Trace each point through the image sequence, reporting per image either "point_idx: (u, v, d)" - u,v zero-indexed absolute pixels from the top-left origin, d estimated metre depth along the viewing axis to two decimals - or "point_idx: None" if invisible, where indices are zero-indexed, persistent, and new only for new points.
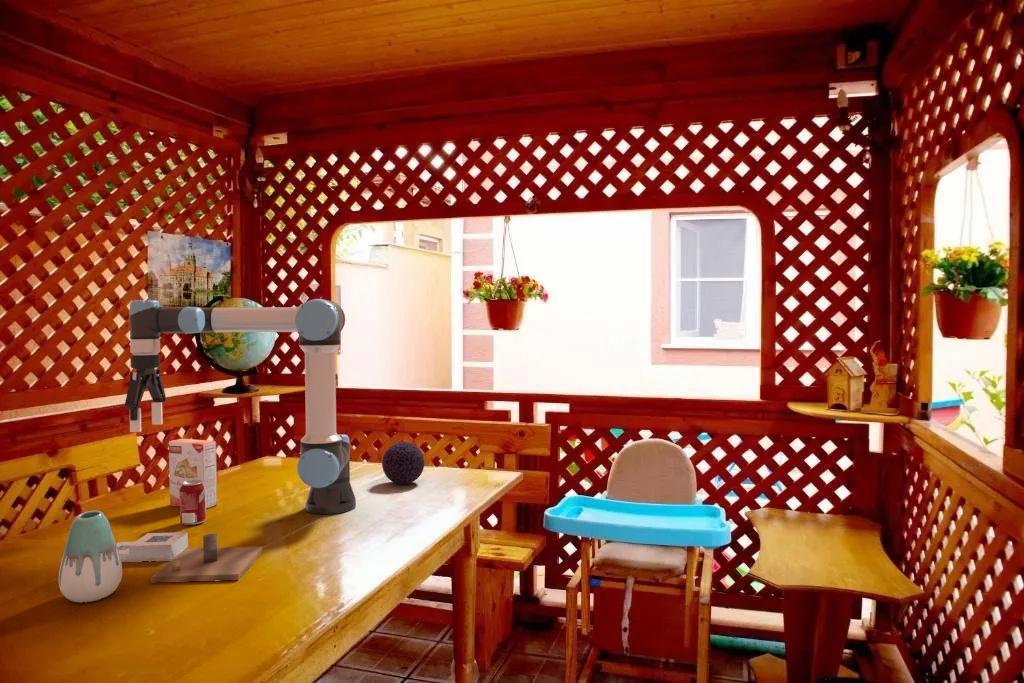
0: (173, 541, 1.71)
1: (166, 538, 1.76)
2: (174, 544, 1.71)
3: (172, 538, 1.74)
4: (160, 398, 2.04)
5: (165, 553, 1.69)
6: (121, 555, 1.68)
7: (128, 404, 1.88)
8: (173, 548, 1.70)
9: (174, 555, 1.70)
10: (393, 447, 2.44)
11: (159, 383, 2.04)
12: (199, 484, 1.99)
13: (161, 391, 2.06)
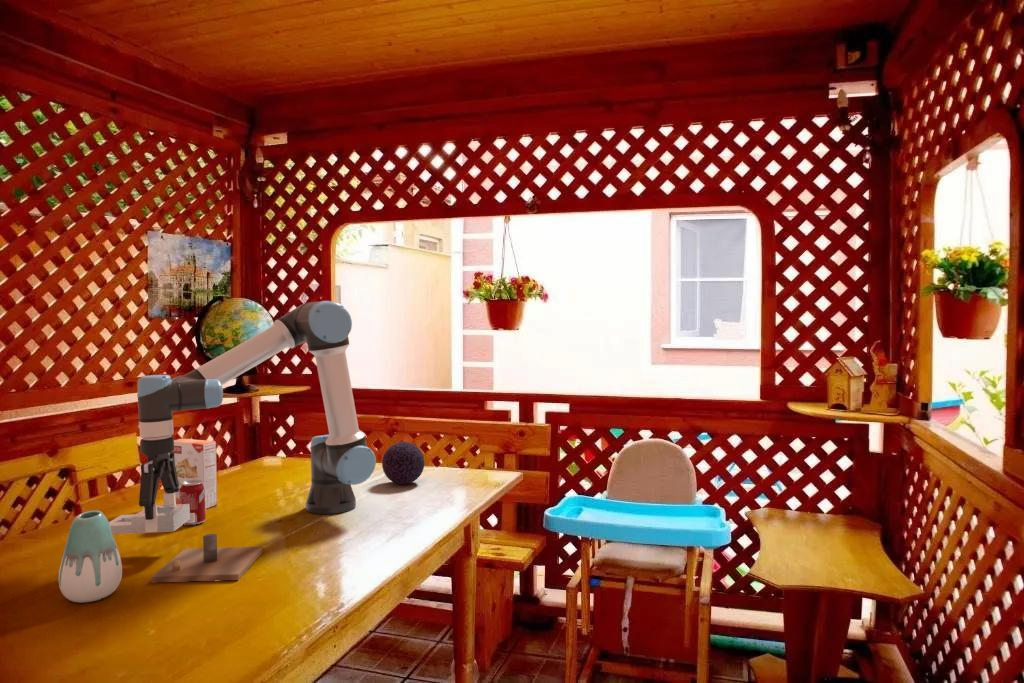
0: (175, 512, 1.71)
1: (168, 510, 1.76)
2: (176, 514, 1.71)
3: (174, 509, 1.74)
4: (173, 488, 1.78)
5: (167, 524, 1.69)
6: (123, 526, 1.68)
7: (143, 502, 1.64)
8: (175, 519, 1.70)
9: (176, 526, 1.70)
10: (393, 447, 2.44)
11: (172, 469, 1.79)
12: (199, 484, 1.99)
13: (174, 478, 1.80)
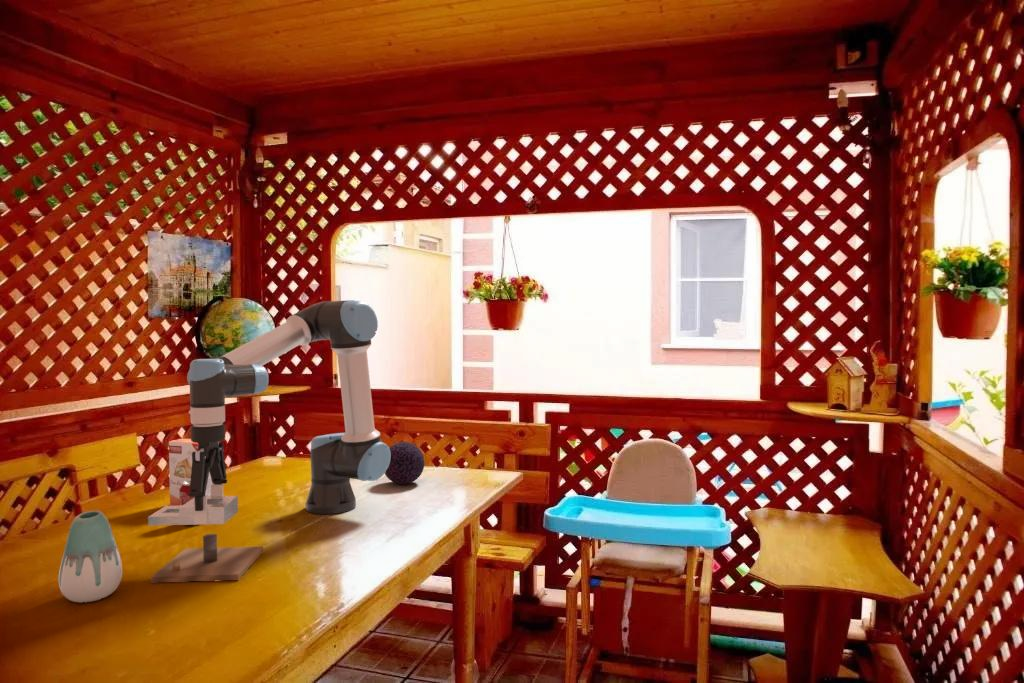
0: (225, 503, 1.62)
1: (216, 501, 1.67)
2: (226, 506, 1.61)
3: (223, 501, 1.64)
4: (221, 479, 1.69)
5: (217, 515, 1.59)
6: (171, 517, 1.59)
7: (193, 492, 1.55)
8: (225, 510, 1.61)
9: (226, 518, 1.61)
10: (393, 447, 2.44)
11: (220, 458, 1.70)
12: None
13: (222, 469, 1.71)
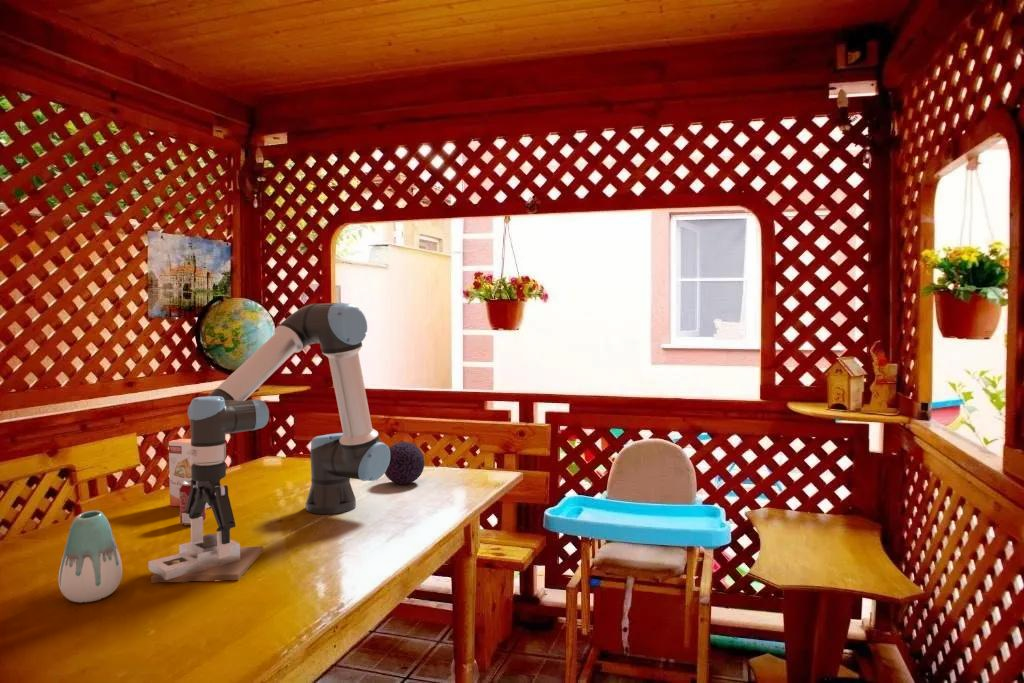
0: (232, 541, 1.66)
1: None
2: None
3: None
4: (202, 512, 1.69)
5: (234, 553, 1.64)
6: (189, 566, 1.56)
7: (229, 525, 1.57)
8: None
9: None
10: (393, 447, 2.44)
11: None
12: None
13: None
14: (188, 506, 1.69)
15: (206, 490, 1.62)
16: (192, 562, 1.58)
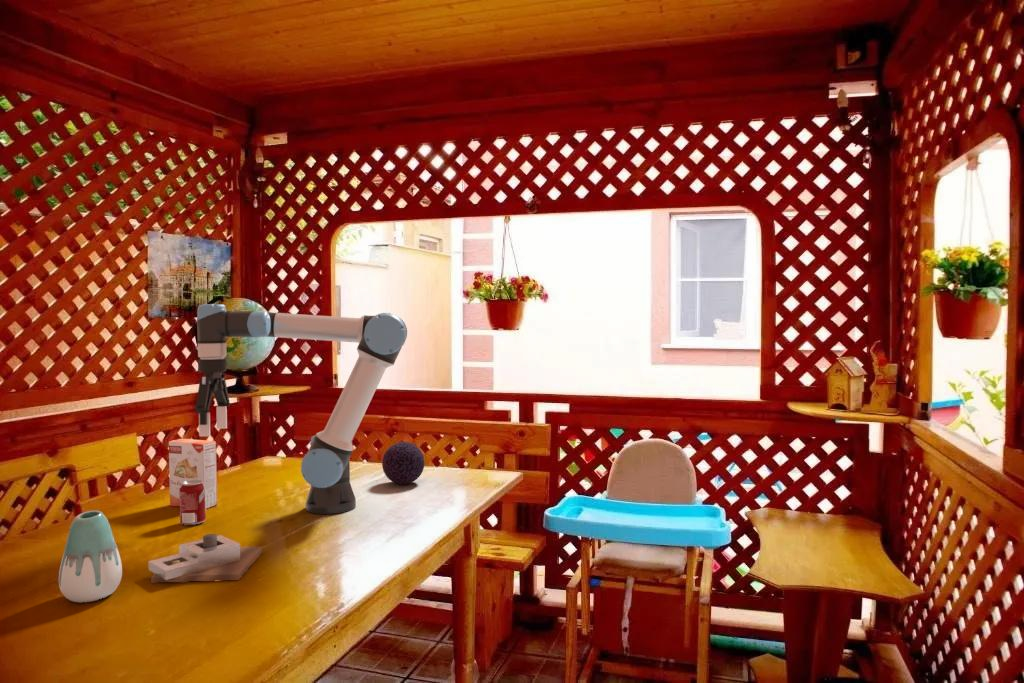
0: (232, 541, 1.66)
1: None
2: None
3: (222, 540, 1.67)
4: (225, 402, 2.04)
5: (234, 553, 1.64)
6: (189, 566, 1.56)
7: (198, 408, 1.87)
8: None
9: None
10: (393, 447, 2.44)
11: (223, 387, 2.04)
12: (199, 484, 1.99)
13: (225, 395, 2.05)
14: None
15: None
16: (192, 562, 1.58)
